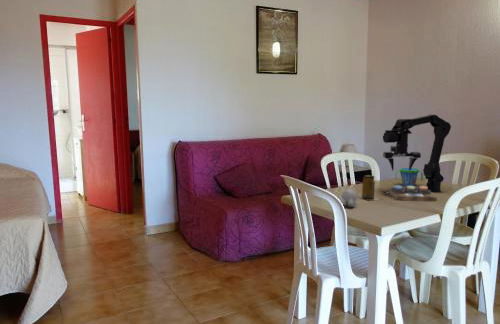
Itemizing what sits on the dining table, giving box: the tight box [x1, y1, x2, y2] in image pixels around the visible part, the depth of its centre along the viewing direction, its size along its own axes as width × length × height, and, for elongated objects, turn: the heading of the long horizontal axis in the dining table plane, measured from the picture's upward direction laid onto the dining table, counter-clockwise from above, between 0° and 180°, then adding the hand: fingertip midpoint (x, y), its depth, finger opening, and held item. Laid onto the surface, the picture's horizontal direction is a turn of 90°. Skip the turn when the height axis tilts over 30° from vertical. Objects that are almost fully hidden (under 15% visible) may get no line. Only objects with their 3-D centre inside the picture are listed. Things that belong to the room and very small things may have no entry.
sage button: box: [406, 185, 416, 190], centre depth 212 cm, size 4×4×2 cm
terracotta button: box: [418, 185, 428, 190], centre depth 211 cm, size 4×4×2 cm
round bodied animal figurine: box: [340, 188, 358, 208], centre depth 192 cm, size 7×12×8 cm, turn 145°
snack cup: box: [395, 167, 424, 187], centre depth 241 cm, size 16×10×10 cm
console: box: [388, 187, 438, 202], centre depth 209 cm, size 20×14×4 cm
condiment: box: [358, 174, 379, 201], centre depth 207 cm, size 7×8×12 cm
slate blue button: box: [393, 184, 403, 190], centre depth 212 cm, size 4×4×2 cm
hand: (401, 170), depth 218 cm, fingers open, 9 cm apart
